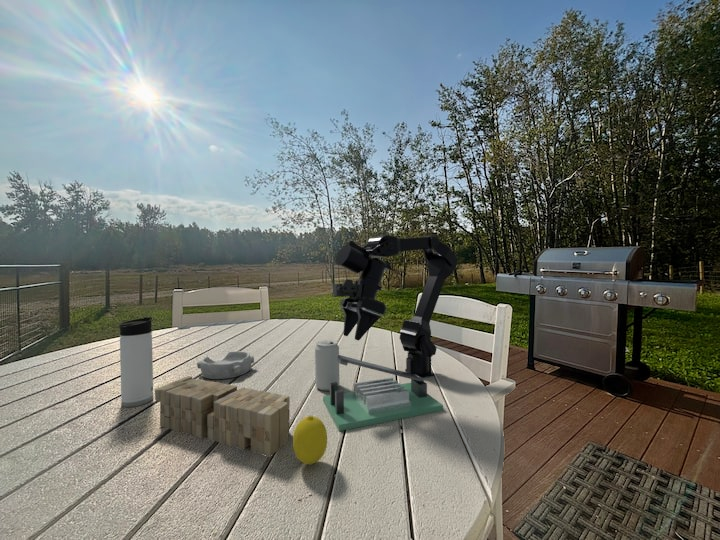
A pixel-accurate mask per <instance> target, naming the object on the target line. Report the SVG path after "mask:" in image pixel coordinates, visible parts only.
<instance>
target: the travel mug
mask: <svg viewBox="0 0 720 540" xmlns="http://www.w3.org/2000/svg"><path fill="white" fill-rule="evenodd" d="M152 321H153V319H152V316H151V317H150V316H145V317H142V318H135V319H130V320H126V321H123V322H122V323H120V324H119V354H120V355H119V356H120V359H119V361H120V366H119V367H120V397H121V399H120V403H121V406H122V407H124V408H134V407H139V406H143V405H146V404H148V403H149V402H151V401H152V400H153V399H154V374H153V373H154V372H153V371H154V368H153V366H154V365H153V363H154V362H153V358H154V357H153V330H152V326H153V325H152Z"/></svg>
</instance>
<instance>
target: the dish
mask: <svg viewBox="0 0 720 540" xmlns="http://www.w3.org/2000/svg"><path fill="white" fill-rule="evenodd" d="M254 362H255V357H254V355H251V354H250V353H249V352H247V351H242V350H241V351H239V350H237V351H234V350H233V351H229V352H228V353H227V354H226V356H225V357H223V359H221V360H217V361H214V360H213V359H211V358H210V357H209V356H205V357H204V358H201V359H200V360H197V361H196V366H197V369H200V371H201V372H200V373H201V375H202V377H203V378H205V379H210V380H223V379H231V378H235V377H241V376H243V375H244V374H246V373H248V372H249V371H250V370H251V369H252V364H254Z"/></svg>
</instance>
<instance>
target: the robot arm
mask: <svg viewBox="0 0 720 540" xmlns="http://www.w3.org/2000/svg"><path fill="white" fill-rule="evenodd" d="M418 250H422V253H423V257H424V259H425V260H426V261H427V272H428V278H427V279H426V280H427V281H426V282H425V286H424V288H423V291H422V293H421V297H420V298H419V301H418V303H417V307H416V309H415V312H414V314H413V316H412V318H411V319H409V320H408V319H404V321H403V322H402V327H401V329H400V331H399V333H400V334H399V340H400V343H401V345H402V348H403V351H404V352H407V357H406V359H405V362H406V365H405V367H406V368H405V370H404V372H406V373H410V374H414V375H415V374H417V375H418V376H420V377H421V378H423V377H424V378H425V377H431V376H435V373H434V371H432V357H433V356H435V355H436V353H437V346H436V345H435V344H434V343H433V342H432V340H431V336H432V329H431V325H430V322H431V319H432V316H433V314H434V311H435V309H436V306H437V303H438V299H439V297H440V294H441V291H442V289H443V286H444V283H445V281H446V280H447V279H448V278H449V277H450V276H451V275H452V274H453V272H454V271H455V269H456V267H457V265H458V257H457V255H456V254H455V252H454V251H453V250H452V249H451V247H449V246H448V245H446V244H445V243H443V242H441V240H440V239H439V238H438V236H436V235H425V236H421V237H418V236H417V237H406V238H400V237H398V236H396V235H389V234H386V235H379V236H372V237H369V239H368V241H367V242H366V244H365V245H363V246H360V245H358V244H357V243H356V242H355V241H353V240H347V241H346V242H345V244H344V245H343V246H342V247H341V248H340V249H339V252H338V253H336V257H335V263H336V265H338V266H340V267H342V268H343V269H346V270H348V271H350V272H352V273H353V274H359V273H360V274H359V277H358V279H356V280H354V281H353V280H352V279H344V280H343V281H342V283H335V284H332V287H333V288H332V297H333V298H335V297H336V298H338V297H341V300H340V303H339V306H340V309H341V311H342V312H343V314H344V321H343V322H344V323H343V336H345V337H348V336H349V335H350V334H351V332H352V330H354V328H355V326H356V329H355V333H354V340H356V341H360V340H361V339H362V338H363V337H364V336H365V334H367V332H368V331H369V330H371V328H372V327H373V326H374V325H375V324H376V323H377V322H378V321H379V320H380V319H381V318H382V316H385V314H386V312H387V305H386V304H385V302H382V301H381V300H377V299H376V297H377V295H378V292H380V291H382V286H380V285H381V282H382V279H383V276H384V273H385V271H393V267H392V265H391V264H390V261H389V260H387V259H386V260H382V259H380V258H391V257H394V256H395V255H399V254H400V253H402V252H407V251H408V252H409V251H418Z"/></svg>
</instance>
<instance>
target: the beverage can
mask: <svg viewBox="0 0 720 540" xmlns="http://www.w3.org/2000/svg"><path fill="white" fill-rule="evenodd" d="M338 355H340V347H339V344H338V341H336V340H332V339H331V340H330V339H327V340H319V341H317V342H316V343H315V346H314V366H315V367H314V371H315V374H314V375H315V387H316V388H317V389H318V390H320V391H325V392H326V391H329V392H330V383H334V382H337V383H338V387H339V386H340V384H341V383H340V363H339V362H338V361H337V357H338Z"/></svg>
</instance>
